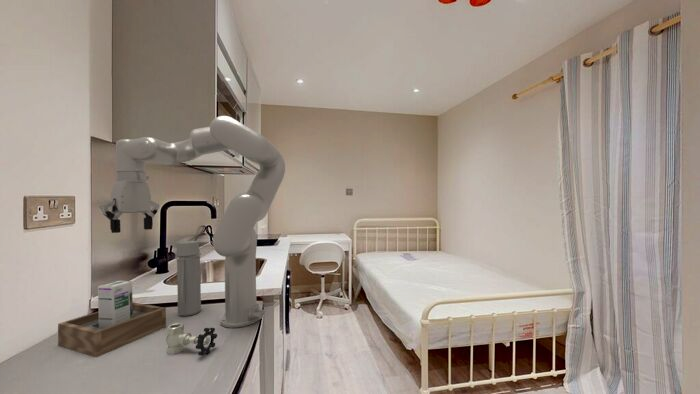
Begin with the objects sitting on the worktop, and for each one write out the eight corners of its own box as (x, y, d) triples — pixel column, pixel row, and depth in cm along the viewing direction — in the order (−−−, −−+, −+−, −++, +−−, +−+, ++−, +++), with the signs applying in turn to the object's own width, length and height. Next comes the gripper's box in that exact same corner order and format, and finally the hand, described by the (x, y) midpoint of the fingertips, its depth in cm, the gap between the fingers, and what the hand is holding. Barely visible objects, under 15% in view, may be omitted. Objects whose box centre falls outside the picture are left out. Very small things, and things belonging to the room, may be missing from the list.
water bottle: (182, 309, 102) (181, 241, 102) (205, 308, 103) (204, 240, 103) (169, 320, 93) (168, 244, 93) (194, 318, 94) (193, 243, 94)
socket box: (166, 327, 87) (165, 307, 87) (95, 357, 71) (95, 333, 71) (130, 319, 94) (129, 301, 94) (58, 345, 77) (58, 323, 78)
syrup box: (113, 337, 79) (113, 286, 79) (97, 335, 80) (97, 285, 81) (133, 328, 85) (133, 280, 85) (118, 327, 86) (118, 279, 86)
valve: (158, 357, 70) (199, 361, 67) (157, 330, 70) (198, 334, 67) (179, 344, 76) (217, 347, 74) (179, 319, 76) (217, 322, 74)
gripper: (150, 180, 100) (151, 228, 100) (92, 177, 84) (93, 234, 83) (165, 179, 97) (166, 228, 97) (108, 175, 81) (109, 234, 81)
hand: (132, 230), depth 90 cm, fingers open, 9 cm apart
